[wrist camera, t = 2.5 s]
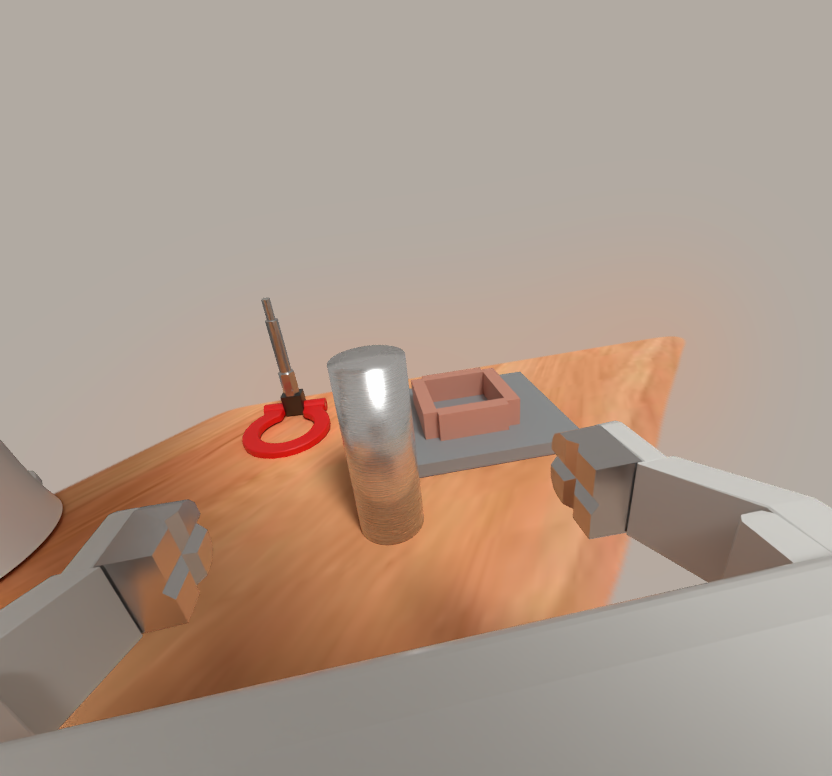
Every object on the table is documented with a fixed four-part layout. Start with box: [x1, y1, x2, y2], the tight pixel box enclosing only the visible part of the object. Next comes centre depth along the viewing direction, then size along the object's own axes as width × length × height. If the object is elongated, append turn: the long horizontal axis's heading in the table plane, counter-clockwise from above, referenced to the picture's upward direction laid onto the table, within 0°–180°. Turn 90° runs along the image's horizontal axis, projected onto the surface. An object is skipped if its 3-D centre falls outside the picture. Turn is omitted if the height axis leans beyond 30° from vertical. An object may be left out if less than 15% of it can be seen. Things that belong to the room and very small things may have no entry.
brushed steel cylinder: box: [327, 345, 424, 545], centre depth 25 cm, size 4×4×12 cm
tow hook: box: [243, 298, 331, 459], centre depth 37 cm, size 8×13×9 cm
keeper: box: [409, 368, 579, 478], centre depth 37 cm, size 17×14×4 cm
